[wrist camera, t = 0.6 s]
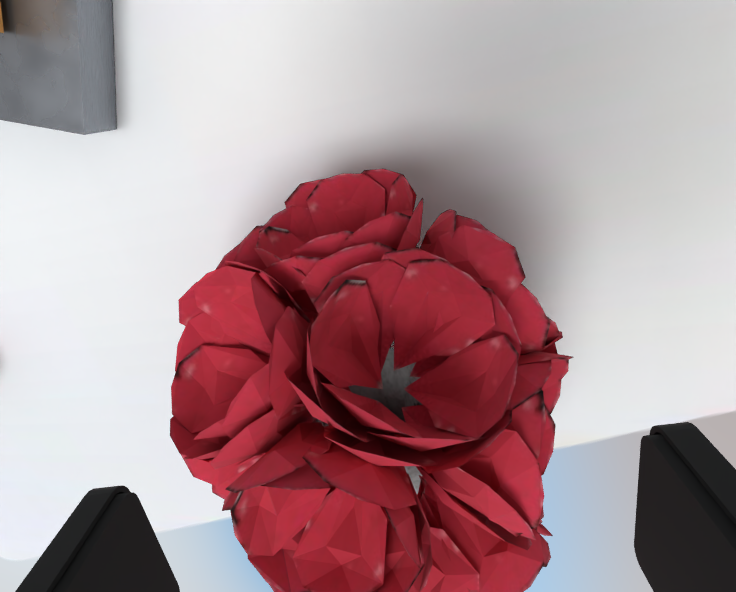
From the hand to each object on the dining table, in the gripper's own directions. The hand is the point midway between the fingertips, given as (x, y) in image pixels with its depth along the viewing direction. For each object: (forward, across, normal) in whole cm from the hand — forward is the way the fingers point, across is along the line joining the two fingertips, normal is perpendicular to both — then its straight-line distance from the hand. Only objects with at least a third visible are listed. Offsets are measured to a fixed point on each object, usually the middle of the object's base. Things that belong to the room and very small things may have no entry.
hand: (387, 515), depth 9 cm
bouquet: (+29, +2, +12) cm, 31 cm away
